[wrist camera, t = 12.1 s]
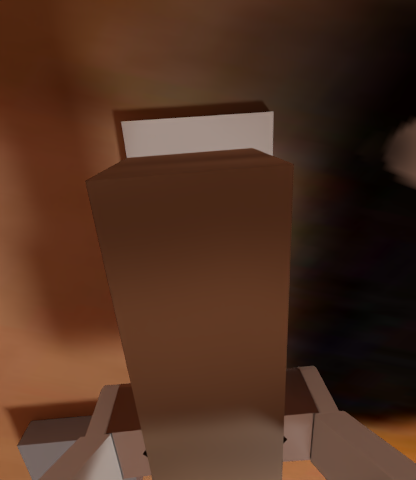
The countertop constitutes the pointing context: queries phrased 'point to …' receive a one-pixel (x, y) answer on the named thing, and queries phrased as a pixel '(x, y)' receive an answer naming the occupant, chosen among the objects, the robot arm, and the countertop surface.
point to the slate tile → (51, 442)
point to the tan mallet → (202, 305)
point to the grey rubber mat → (199, 134)
